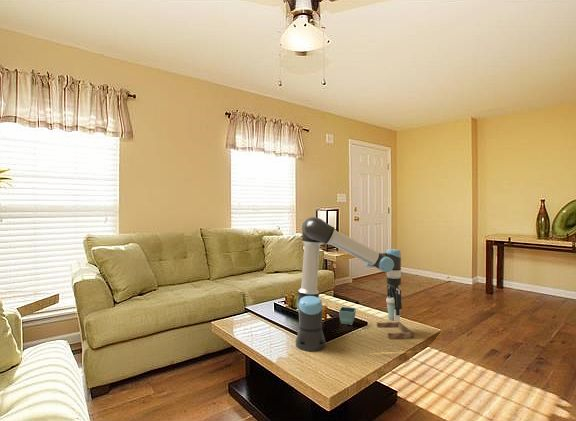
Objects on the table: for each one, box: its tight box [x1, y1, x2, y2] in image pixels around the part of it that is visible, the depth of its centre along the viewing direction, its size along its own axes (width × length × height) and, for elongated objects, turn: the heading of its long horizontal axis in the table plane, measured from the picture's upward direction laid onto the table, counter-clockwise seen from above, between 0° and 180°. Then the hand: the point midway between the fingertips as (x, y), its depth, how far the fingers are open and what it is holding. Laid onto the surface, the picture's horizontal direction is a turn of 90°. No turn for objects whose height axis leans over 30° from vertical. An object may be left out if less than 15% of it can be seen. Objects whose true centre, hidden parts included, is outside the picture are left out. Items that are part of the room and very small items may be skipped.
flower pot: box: [338, 306, 357, 326], centre depth 190 cm, size 9×9×9 cm
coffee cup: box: [385, 296, 403, 322], centre depth 178 cm, size 8×8×12 cm
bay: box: [376, 321, 415, 340], centre depth 178 cm, size 14×18×2 cm
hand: (394, 318), depth 178 cm, fingers closed on coffee cup, 7 cm apart
